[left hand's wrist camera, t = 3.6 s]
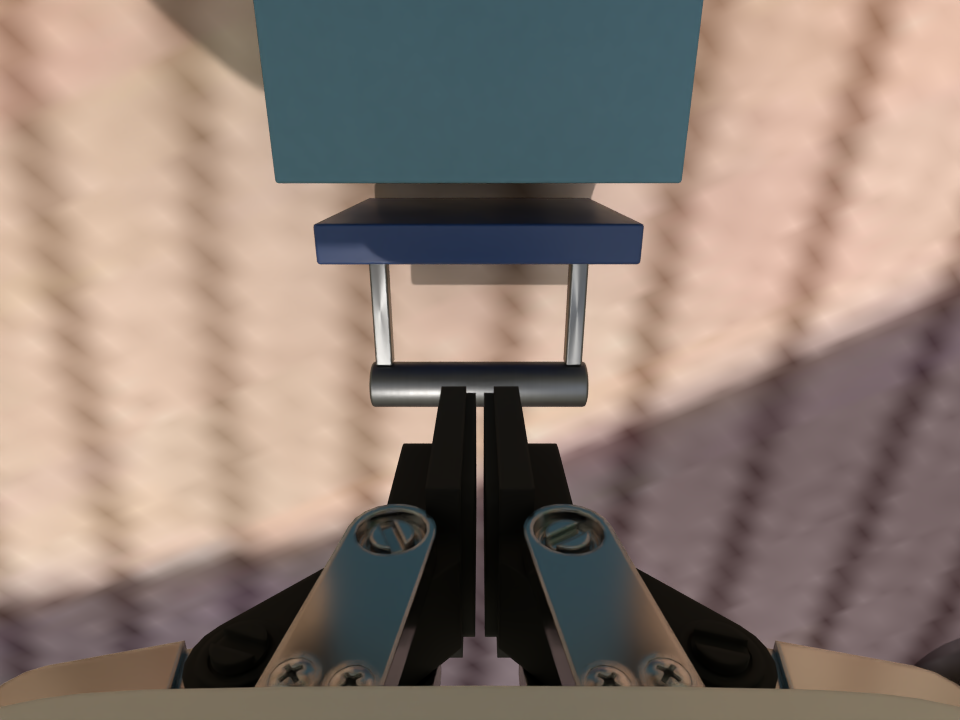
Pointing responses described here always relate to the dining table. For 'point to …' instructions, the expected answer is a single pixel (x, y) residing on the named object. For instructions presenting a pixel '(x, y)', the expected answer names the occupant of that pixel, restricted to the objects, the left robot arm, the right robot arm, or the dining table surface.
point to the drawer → (478, 240)
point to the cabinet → (478, 89)
